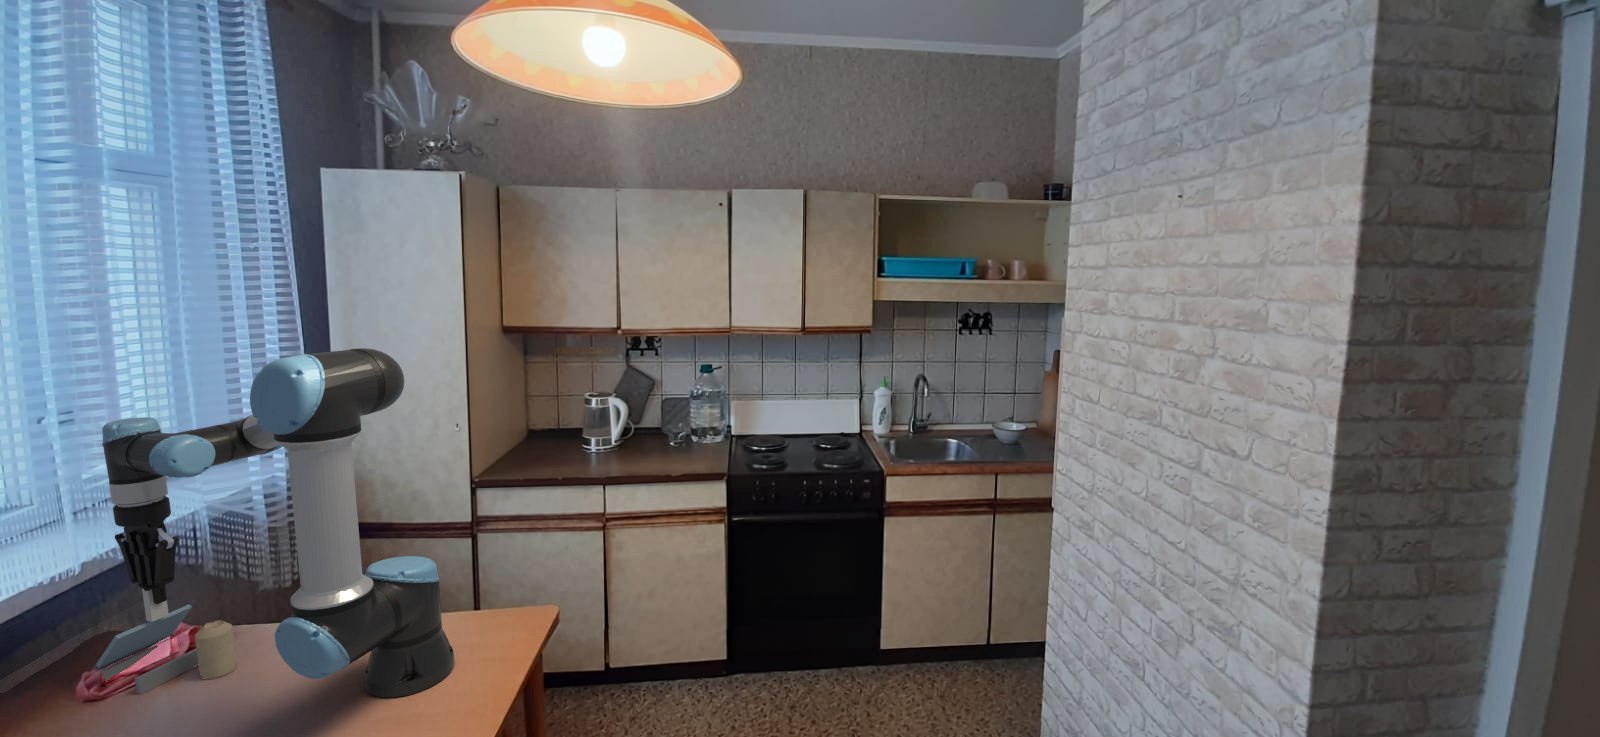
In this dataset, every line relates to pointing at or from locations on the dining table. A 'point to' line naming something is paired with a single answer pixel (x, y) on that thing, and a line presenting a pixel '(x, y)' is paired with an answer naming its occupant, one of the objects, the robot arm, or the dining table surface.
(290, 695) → the dining table surface
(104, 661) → the cover
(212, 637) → the candle
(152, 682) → the grey panel stand
